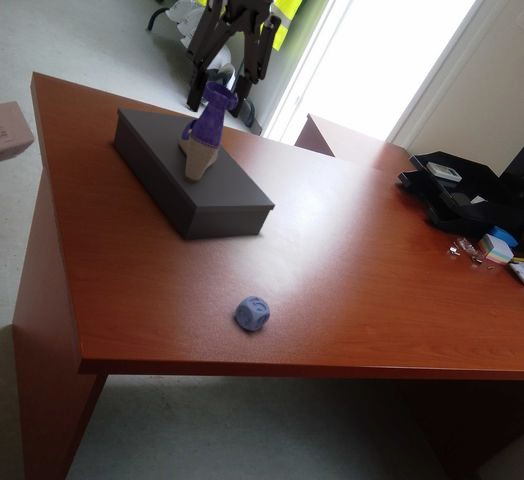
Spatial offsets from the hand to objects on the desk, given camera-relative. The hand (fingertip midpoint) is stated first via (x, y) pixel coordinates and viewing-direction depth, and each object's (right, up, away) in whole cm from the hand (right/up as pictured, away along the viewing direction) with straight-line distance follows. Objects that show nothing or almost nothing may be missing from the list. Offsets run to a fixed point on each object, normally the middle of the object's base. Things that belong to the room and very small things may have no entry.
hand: (212, 111), depth 83 cm
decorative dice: (+7, -39, -8) cm, 40 cm away
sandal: (-4, -7, +5) cm, 9 cm away
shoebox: (-7, -10, +11) cm, 16 cm away
